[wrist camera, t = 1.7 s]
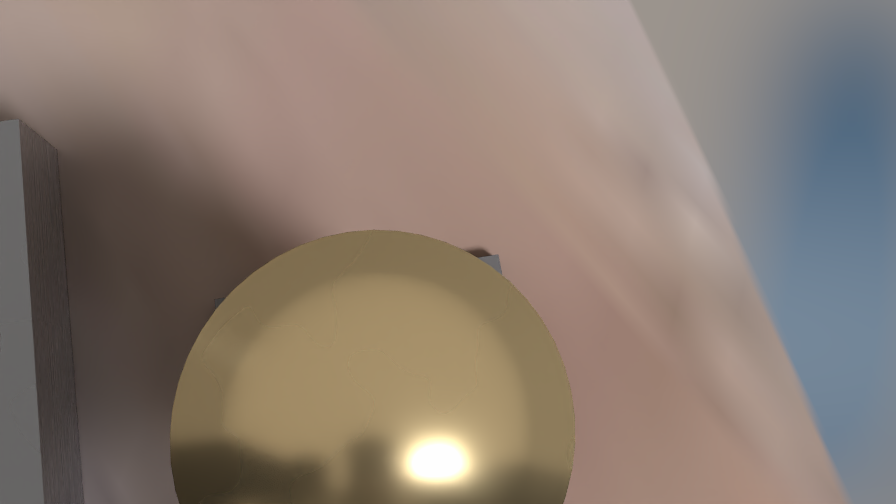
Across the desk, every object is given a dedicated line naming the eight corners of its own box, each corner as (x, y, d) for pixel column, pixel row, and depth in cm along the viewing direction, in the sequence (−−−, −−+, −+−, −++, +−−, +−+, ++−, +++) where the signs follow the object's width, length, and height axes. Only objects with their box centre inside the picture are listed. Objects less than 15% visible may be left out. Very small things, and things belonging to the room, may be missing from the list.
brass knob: (499, 505, 17) (612, 597, 9) (293, 546, 17) (192, 686, 8) (463, 304, 18) (532, 203, 10) (266, 337, 18) (150, 261, 9)
